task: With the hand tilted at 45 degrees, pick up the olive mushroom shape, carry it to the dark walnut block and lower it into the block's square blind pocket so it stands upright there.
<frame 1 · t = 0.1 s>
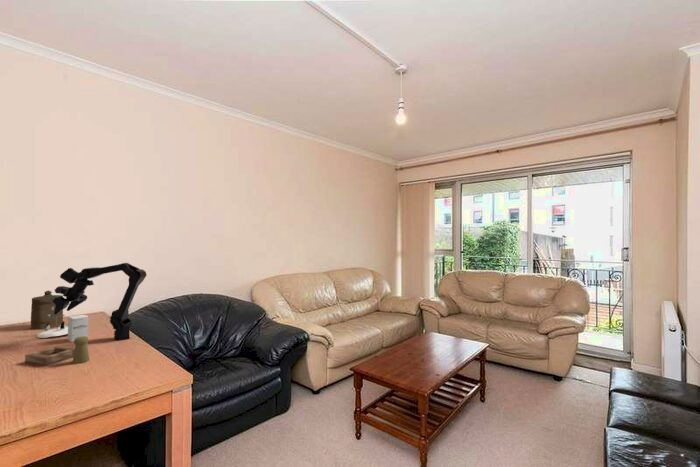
hand: (61, 312, 182), 15 cm above the table, fingers open, 9 cm apart
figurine: (58, 334, 192), on the table
wooden container: (47, 326, 208), on the table
supplement box: (77, 339, 183), on the table
walnut pocket block: (52, 359, 153), on the table
olive mushroom shape: (81, 361, 151), on the table
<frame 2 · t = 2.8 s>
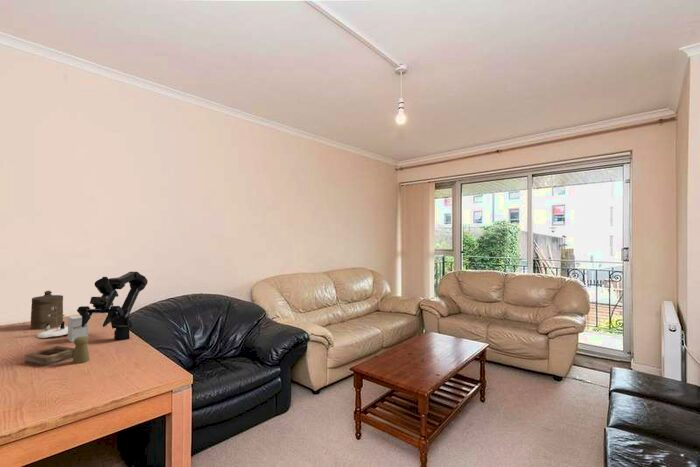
hand: (92, 326, 160), 14 cm above the table, fingers open, 9 cm apart
nothing on the table moved.
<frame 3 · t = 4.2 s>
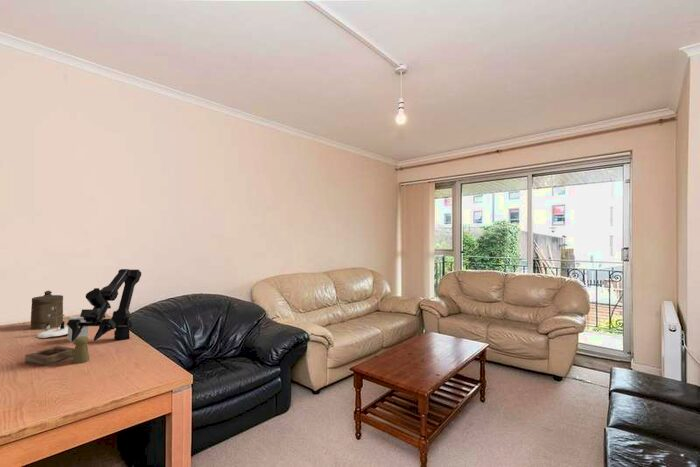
hand: (83, 340, 153), 9 cm above the table, fingers open, 9 cm apart
nothing on the table moved.
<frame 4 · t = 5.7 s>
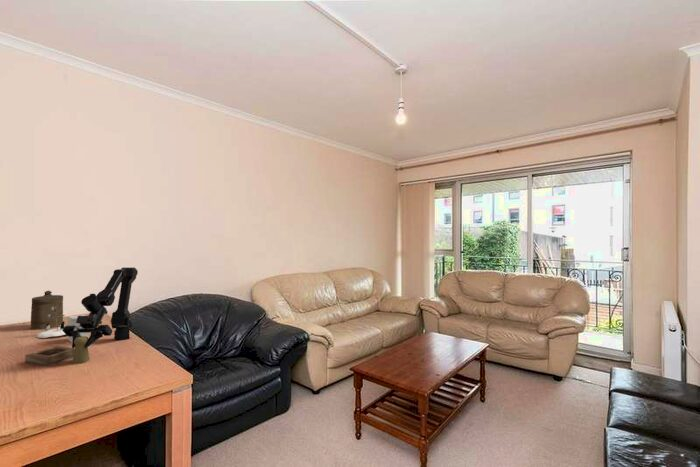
hand: (79, 347, 150), 7 cm above the table, fingers closed on olive mushroom shape, 5 cm apart
olive mushroom shape: (81, 361, 151), on the table, touching gripper
everything else where it was.
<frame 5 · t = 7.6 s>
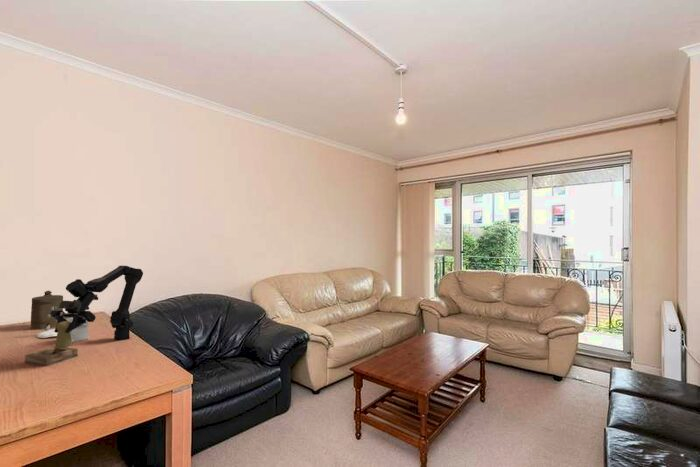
hand: (60, 332, 151), 13 cm above the table, fingers closed on olive mushroom shape, 5 cm apart
olive mushroom shape: (63, 346, 152), point 6 cm above the table, touching gripper
everything else where it was.
when the fingers open (9 cm above the table, at t = 9.6 s): olive mushroom shape stays where it is, resting on walnut pocket block.
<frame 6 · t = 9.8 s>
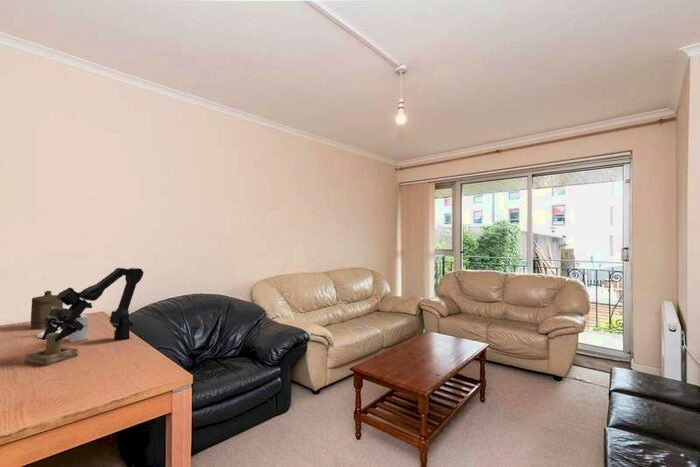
hand: (49, 340, 152), 9 cm above the table, fingers open, 8 cm apart
olive mushroom shape: (52, 357, 153), point 1 cm above the table, touching walnut pocket block
everything else where it was.
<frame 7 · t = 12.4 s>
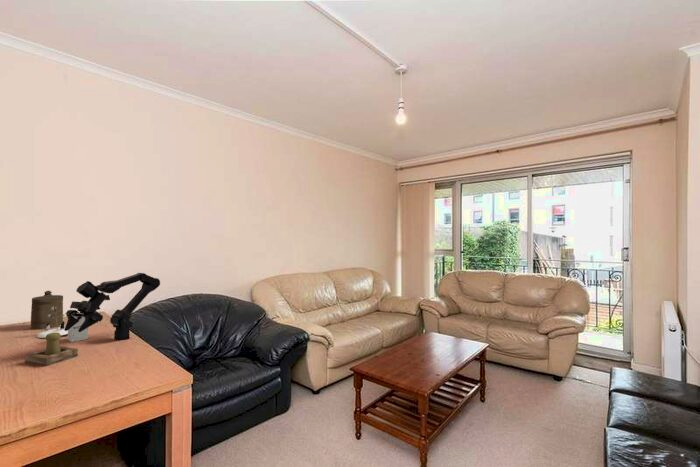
hand: (72, 331, 161), 11 cm above the table, fingers open, 9 cm apart
nothing on the table moved.
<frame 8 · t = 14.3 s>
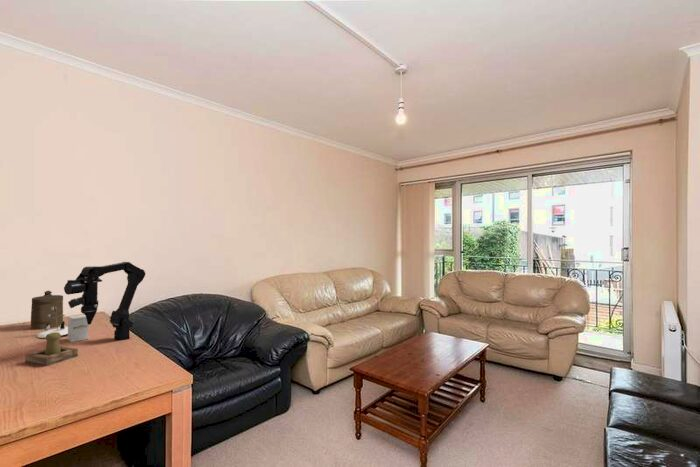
hand: (89, 322, 169), 13 cm above the table, fingers open, 9 cm apart
nothing on the table moved.
at the end: olive mushroom shape 0.2 cm off-centre on the walnut pocket block, point 0.8 cm above the walnut pocket block's base; olive mushroom shape tilted 0°; the gripper is holding nothing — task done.
